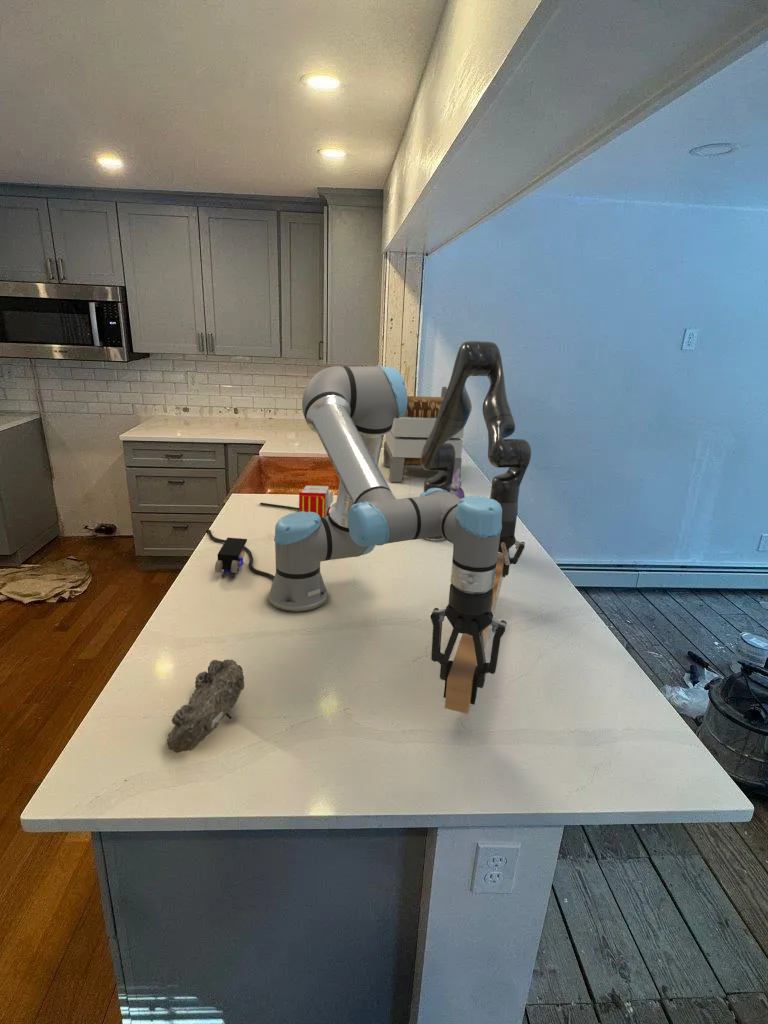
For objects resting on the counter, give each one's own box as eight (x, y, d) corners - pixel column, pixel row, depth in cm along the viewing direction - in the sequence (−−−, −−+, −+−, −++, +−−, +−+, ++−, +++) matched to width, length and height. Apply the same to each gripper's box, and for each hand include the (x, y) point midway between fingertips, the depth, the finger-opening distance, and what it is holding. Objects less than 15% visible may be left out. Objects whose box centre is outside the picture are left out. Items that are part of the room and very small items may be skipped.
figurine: (451, 509, 226) (454, 473, 221) (437, 502, 234) (440, 467, 229) (470, 507, 230) (474, 471, 225) (456, 499, 238) (459, 465, 233)
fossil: (192, 660, 117) (244, 628, 112) (224, 691, 120) (276, 661, 115) (142, 746, 98) (202, 712, 93) (182, 779, 101) (242, 748, 96)
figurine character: (238, 584, 162) (249, 557, 175) (236, 562, 158) (247, 536, 172) (215, 584, 161) (227, 556, 175) (212, 561, 158) (225, 535, 171)
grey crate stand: (382, 463, 289) (386, 382, 275) (445, 464, 293) (451, 384, 279) (390, 482, 257) (394, 392, 243) (460, 483, 261) (468, 394, 247)
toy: (334, 481, 223) (329, 494, 194) (333, 514, 226) (328, 532, 197) (303, 480, 223) (293, 493, 193) (303, 513, 225) (293, 531, 196)
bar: (487, 573, 158) (490, 551, 155) (503, 575, 156) (506, 553, 154) (444, 708, 104) (447, 677, 101) (468, 713, 102) (471, 683, 100)
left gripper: (418, 585, 97) (410, 698, 105) (521, 604, 93) (504, 720, 101) (428, 568, 104) (419, 675, 112) (524, 584, 100) (509, 695, 107)
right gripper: (472, 515, 145) (466, 575, 151) (529, 524, 141) (520, 585, 147) (476, 506, 152) (470, 564, 158) (531, 514, 148) (522, 573, 154)
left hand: (460, 696), depth 106 cm, fingers closed on bar, 4 cm apart
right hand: (494, 574), depth 153 cm, fingers closed on bar, 4 cm apart
